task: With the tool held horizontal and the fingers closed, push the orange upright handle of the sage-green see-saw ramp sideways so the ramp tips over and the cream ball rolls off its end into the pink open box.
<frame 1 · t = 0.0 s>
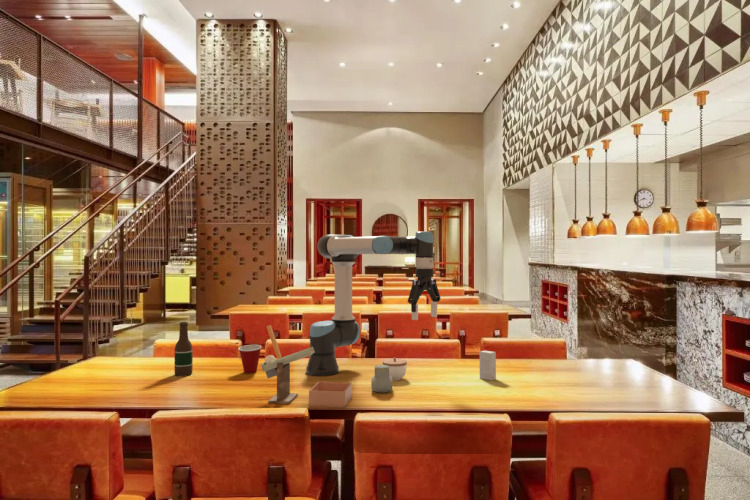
hand: (424, 318, 214), 28 cm above the table, tool pointing down, fingers open, 13 cm apart
stand: (283, 399, 192), on the table
ball: (270, 360, 193), point 15 cm above the table, touching lever
air freshener: (382, 391, 205), on the table
beer bottle: (183, 375, 233), on the table
plastic cup: (250, 372, 238), on the table
lever: (284, 345, 194), point 20 cm above the table, hinge at -20.0°, touching ball
skincare box: (487, 379, 224), on the table
lidded jar: (394, 379, 225), on the table
pink open box: (331, 401, 190), on the table
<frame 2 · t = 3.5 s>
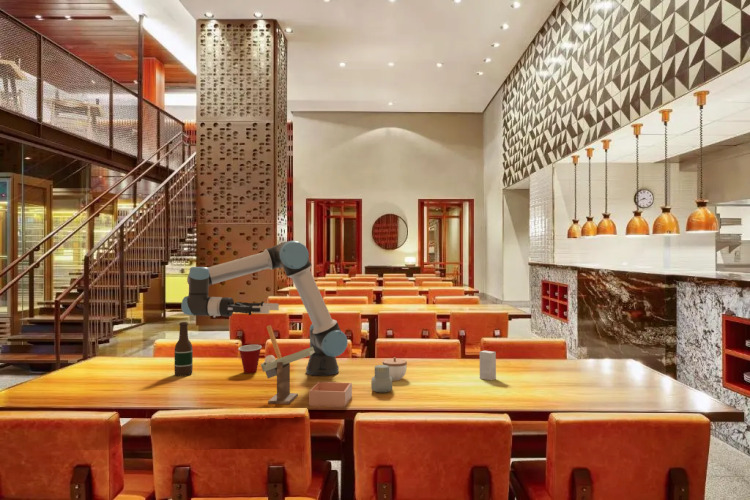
hand: (274, 308, 201), 34 cm above the table, tool horizontal, fingers open, 13 cm apart
nothing on the table moved.
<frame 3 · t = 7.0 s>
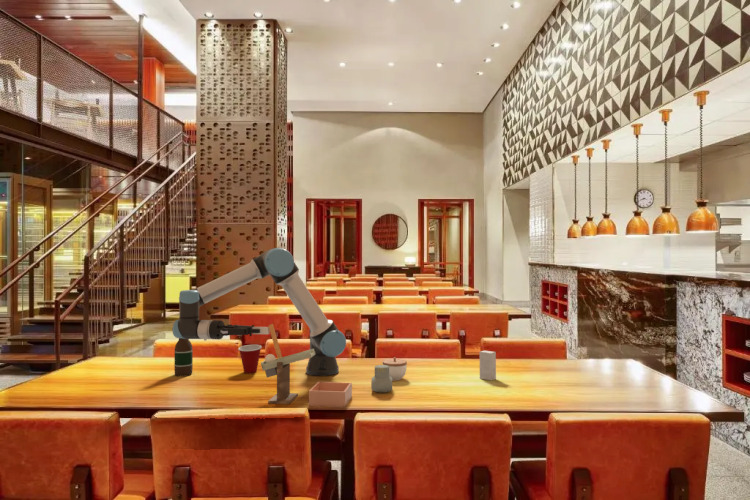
hand: (268, 330, 199), 25 cm above the table, tool horizontal, fingers closed
lever: (285, 345, 194), point 20 cm above the table, hinge at -16.2°, touching ball, gripper
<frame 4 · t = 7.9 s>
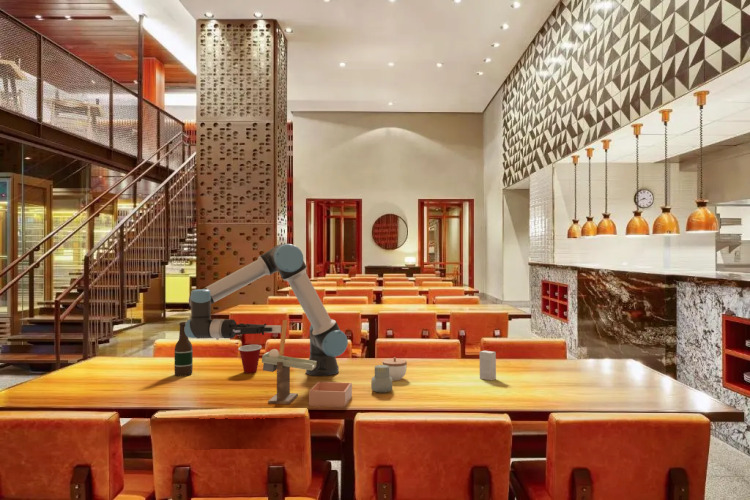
hand: (281, 329, 198), 26 cm above the table, tool horizontal, fingers closed
ball: (273, 354, 193), point 17 cm above the table, tilted 49°, touching lever
lever: (292, 347, 194), point 19 cm above the table, hinge at 7.1°, touching ball, gripper
everything else where it was.
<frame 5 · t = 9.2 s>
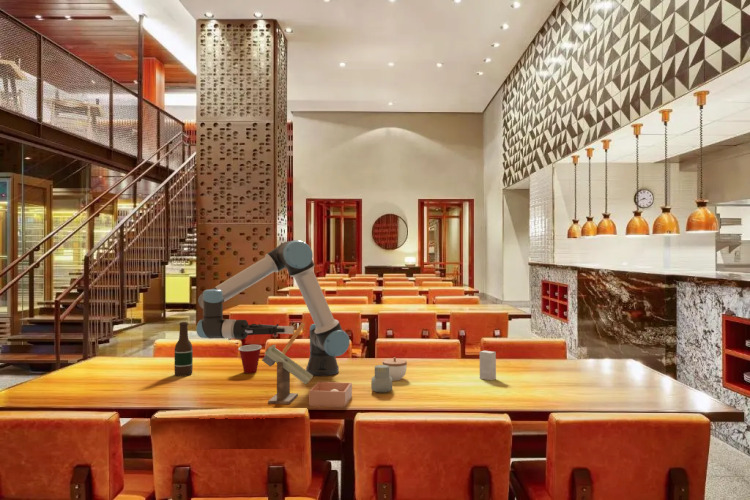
hand: (293, 330, 198), 26 cm above the table, tool horizontal, fingers closed
ball: (334, 394, 190), point 3 cm above the table, tilted 146°, touching pink open box
lever: (297, 353, 193), point 17 cm above the table, hinge at 34.7°, touching gripper, stand
everything else where it was.
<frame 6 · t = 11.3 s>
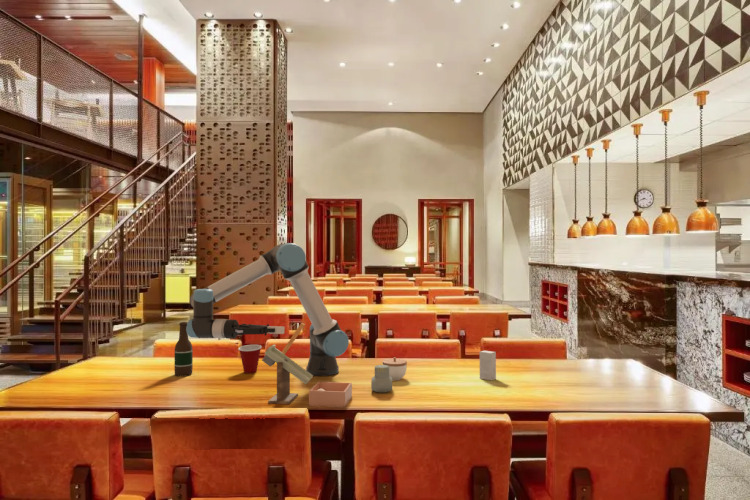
hand: (283, 330, 198), 25 cm above the table, tool horizontal, fingers closed
ball: (320, 394, 191), point 3 cm above the table, tilted 6°, touching pink open box
lever: (297, 353, 193), point 17 cm above the table, hinge at 34.7°
everything else where it was.
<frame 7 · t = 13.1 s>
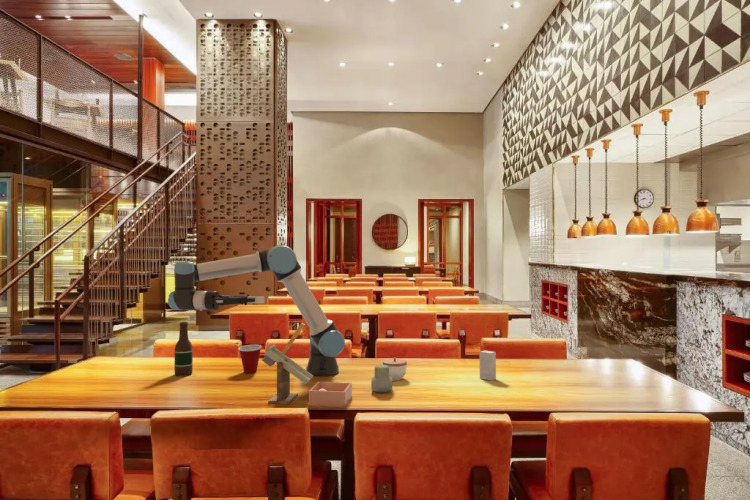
hand: (263, 299, 201), 37 cm above the table, tool horizontal, fingers closed
ball: (322, 394, 190), point 3 cm above the table, tilted 11°, touching pink open box
everything else where it was.
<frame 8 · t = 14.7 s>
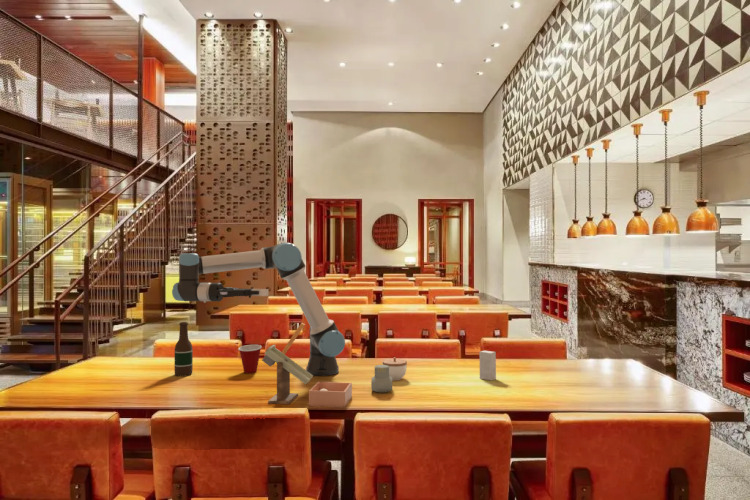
hand: (267, 292, 201), 40 cm above the table, tool horizontal, fingers closed
ball: (323, 394, 190), point 3 cm above the table, tilted 26°, touching pink open box
everything else where it was.
at the end: ball 2.8 cm from the pink open box (horizontally); ball point 2.6 cm above the table; ball touching pink open box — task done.
